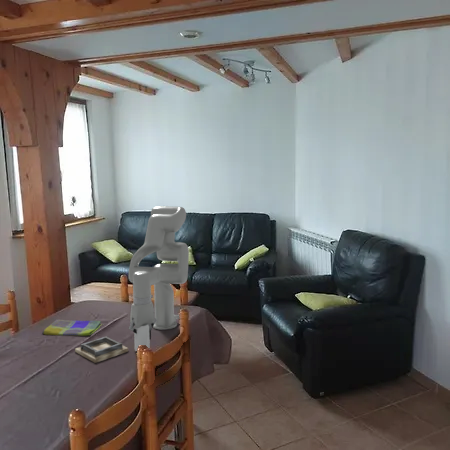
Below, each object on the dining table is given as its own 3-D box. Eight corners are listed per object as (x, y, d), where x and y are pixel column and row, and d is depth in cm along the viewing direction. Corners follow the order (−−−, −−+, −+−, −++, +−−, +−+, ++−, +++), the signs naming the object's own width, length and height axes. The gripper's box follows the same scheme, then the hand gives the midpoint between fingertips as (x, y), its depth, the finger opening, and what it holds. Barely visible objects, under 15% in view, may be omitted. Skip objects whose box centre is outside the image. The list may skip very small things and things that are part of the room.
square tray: (107, 341, 205) (107, 334, 204) (128, 351, 194) (128, 343, 193) (75, 351, 193) (74, 344, 193) (95, 363, 182) (95, 354, 182)
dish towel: (88, 338, 210) (88, 332, 210) (39, 335, 213) (39, 329, 212) (103, 325, 227) (103, 319, 227) (58, 323, 230) (57, 317, 230)
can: (146, 353, 191) (146, 326, 189) (132, 352, 192) (131, 325, 190) (151, 347, 197) (151, 321, 195) (137, 346, 198) (137, 320, 197)
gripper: (152, 293, 201) (153, 332, 203) (120, 302, 188) (121, 343, 191) (163, 297, 196) (164, 337, 198) (131, 306, 183) (132, 348, 186)
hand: (143, 340), depth 195 cm, fingers closed on can, 4 cm apart
